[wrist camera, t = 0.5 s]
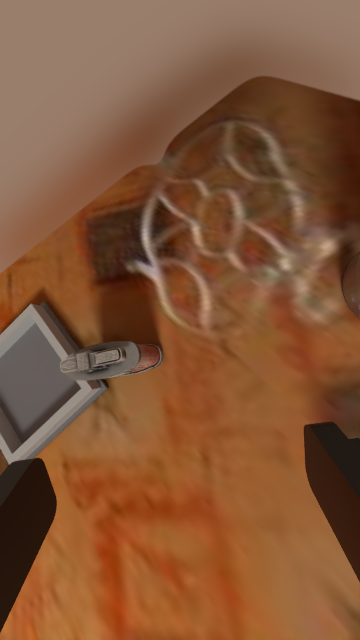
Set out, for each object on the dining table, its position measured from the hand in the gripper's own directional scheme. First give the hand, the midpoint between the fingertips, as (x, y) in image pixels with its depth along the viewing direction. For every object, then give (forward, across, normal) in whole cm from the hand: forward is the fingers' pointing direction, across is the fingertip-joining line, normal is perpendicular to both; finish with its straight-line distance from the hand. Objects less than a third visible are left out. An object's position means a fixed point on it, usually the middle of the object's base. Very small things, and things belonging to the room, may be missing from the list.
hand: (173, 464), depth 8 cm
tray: (+26, +21, +8) cm, 34 cm away
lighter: (+24, +7, +6) cm, 26 cm away
